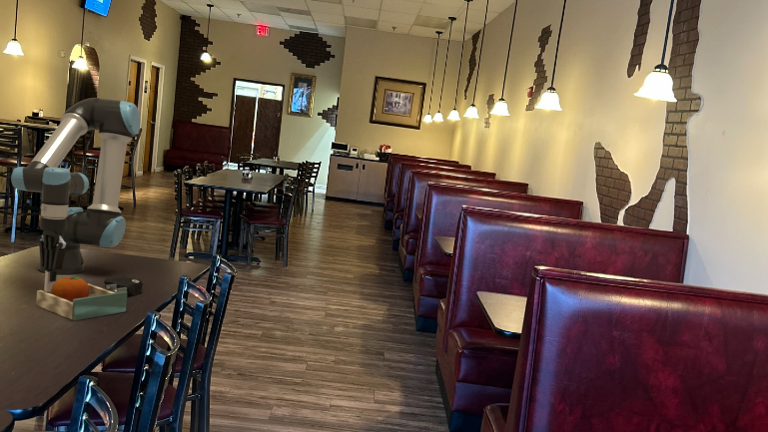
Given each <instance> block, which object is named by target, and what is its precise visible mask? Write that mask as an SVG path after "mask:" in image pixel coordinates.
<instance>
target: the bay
mask: <svg viewBox="0 0 768 432" xmlns="http://www.w3.org/2000/svg"><path fill="white" fill-rule="evenodd" d="M87 284H88V286H89V290H90V291H89V295H88V297H85V298H78V299H73V302H71V301H68V300H66V299H63V298H60V297H58V296H55V295H53V294H51V292H50V293H49V292H46V291H44V290H42V289H40V290H37V291H36V304H35V305H36V306H37V307H40V308H42V309H44V308H45V310H47V311H50V312H52V313H54V314H57V315H59V316H62V317H64V318H67V319H69V320H71V321H74V322H75V321H80V320H85V319H91V318H97V317H102V316H107V315H113V314H117V313H123V312H126V311H127V302H128V301H127V300H128V296H127V292H125V291H124V292H117V293H114V292H111V291H109V290H106V289H105V288H102V287H101V286H100V287H99V286H97V285H94V284H91V283H87Z"/></svg>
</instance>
